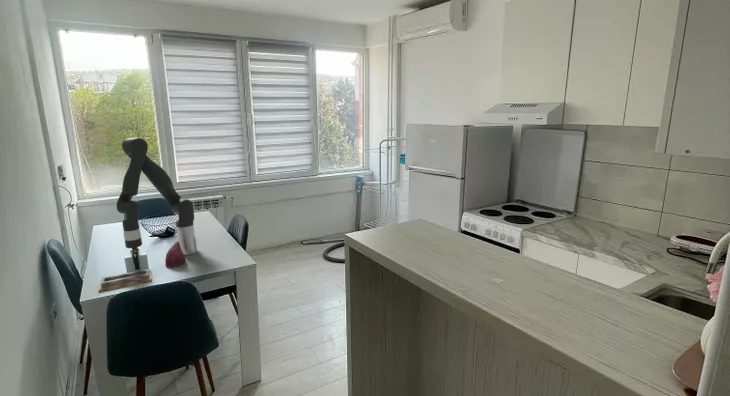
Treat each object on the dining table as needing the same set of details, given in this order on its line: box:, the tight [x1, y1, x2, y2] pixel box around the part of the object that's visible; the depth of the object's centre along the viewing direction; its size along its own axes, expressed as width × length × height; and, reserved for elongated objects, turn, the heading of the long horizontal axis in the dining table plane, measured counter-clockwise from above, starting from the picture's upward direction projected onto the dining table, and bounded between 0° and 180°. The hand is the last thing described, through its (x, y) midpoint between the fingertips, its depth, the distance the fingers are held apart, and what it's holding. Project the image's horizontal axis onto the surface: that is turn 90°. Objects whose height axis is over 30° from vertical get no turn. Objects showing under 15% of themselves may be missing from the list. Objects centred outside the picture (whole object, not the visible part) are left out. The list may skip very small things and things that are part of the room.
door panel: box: [124, 252, 150, 273], centre depth 198 cm, size 10×3×9 cm, turn 120°
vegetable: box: [164, 240, 187, 269], centre depth 207 cm, size 10×10×15 cm
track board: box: [98, 268, 153, 292], centre depth 186 cm, size 22×12×3 cm, turn 121°
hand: (137, 268), depth 198 cm, fingers closed on door panel, 3 cm apart
